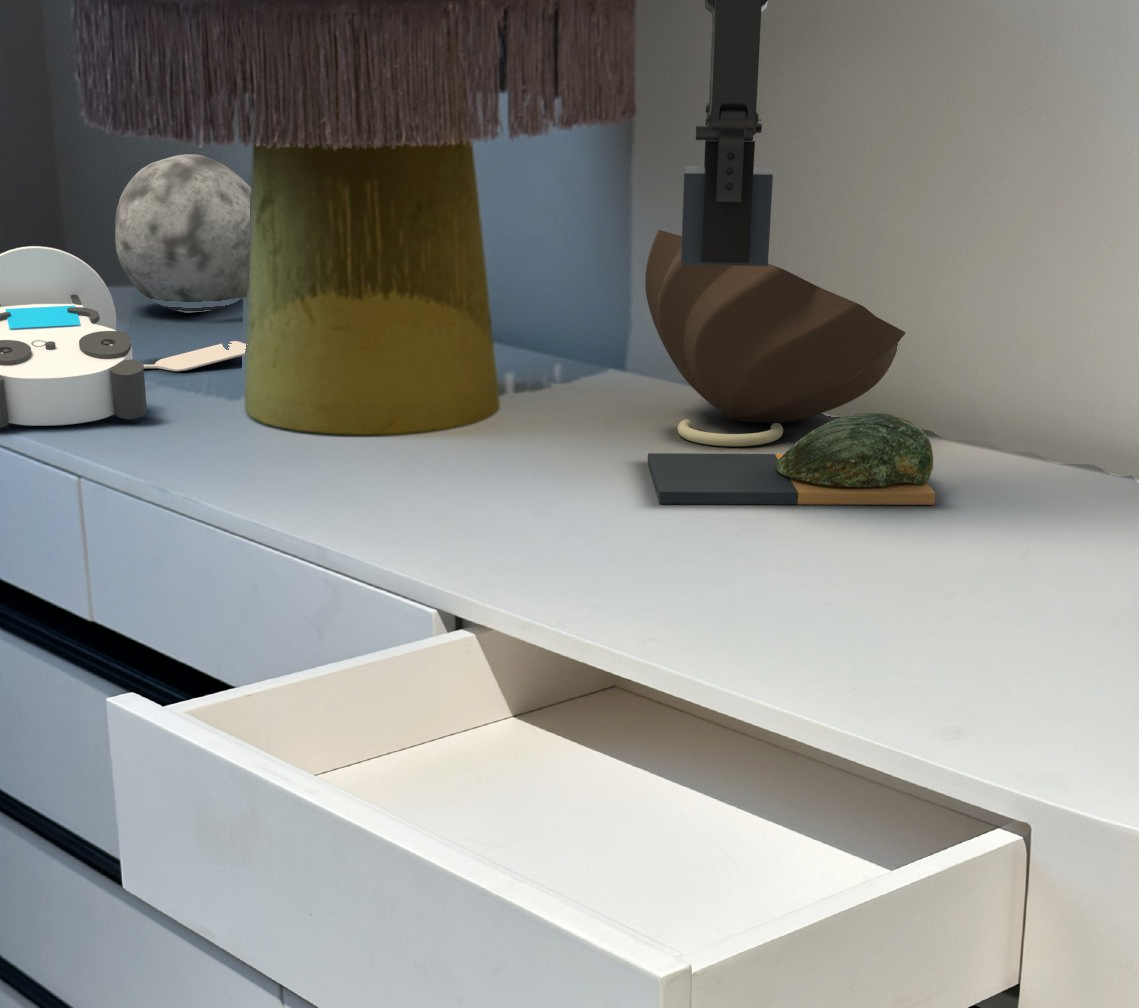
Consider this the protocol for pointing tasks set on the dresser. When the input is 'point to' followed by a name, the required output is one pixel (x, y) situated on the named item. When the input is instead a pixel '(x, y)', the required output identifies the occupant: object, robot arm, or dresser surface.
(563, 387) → the dresser surface
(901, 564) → the dresser surface
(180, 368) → the spatula
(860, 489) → the sorting mat
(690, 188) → the slate block
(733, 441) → the handle
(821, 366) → the brown fluted bowl
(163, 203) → the moon lamp
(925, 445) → the seashell
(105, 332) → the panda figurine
